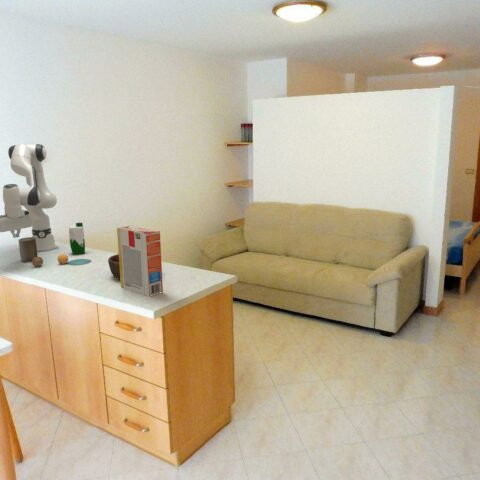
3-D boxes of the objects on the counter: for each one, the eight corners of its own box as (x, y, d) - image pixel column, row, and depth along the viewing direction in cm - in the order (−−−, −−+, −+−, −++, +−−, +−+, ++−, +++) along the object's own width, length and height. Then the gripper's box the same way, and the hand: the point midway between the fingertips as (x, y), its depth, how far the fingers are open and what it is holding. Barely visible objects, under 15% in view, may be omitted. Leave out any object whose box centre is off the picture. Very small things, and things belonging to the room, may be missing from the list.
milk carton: (86, 254, 296) (83, 223, 292) (71, 255, 293) (68, 225, 289) (84, 251, 304) (82, 221, 300) (70, 252, 301) (67, 222, 296)
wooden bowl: (145, 283, 234) (144, 264, 231) (100, 281, 239) (99, 262, 236) (163, 270, 258) (162, 252, 255) (122, 268, 262) (121, 250, 260)
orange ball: (57, 263, 275) (56, 253, 273) (68, 262, 277) (67, 252, 276) (58, 265, 269) (57, 255, 268) (69, 264, 272) (68, 254, 270)
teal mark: (66, 260, 280) (66, 260, 280) (90, 258, 285) (90, 258, 285) (67, 266, 268) (67, 265, 267) (92, 263, 273) (92, 263, 273)
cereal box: (162, 292, 219) (159, 231, 213) (149, 296, 213) (145, 233, 207) (134, 283, 234) (130, 225, 228) (120, 287, 228) (116, 228, 222)
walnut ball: (32, 265, 269) (31, 256, 268) (43, 264, 272) (42, 254, 270) (32, 268, 264) (31, 258, 263) (43, 267, 266) (42, 257, 265)
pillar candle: (41, 258, 286) (38, 235, 283) (32, 262, 277) (29, 238, 274) (26, 258, 287) (23, 235, 284) (17, 262, 278) (14, 238, 275)
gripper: (-1, 216, 247) (2, 241, 250) (33, 211, 264) (35, 234, 267) (-8, 215, 250) (-5, 240, 253) (26, 210, 267) (28, 233, 270)
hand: (16, 237), depth 260 cm, fingers closed
